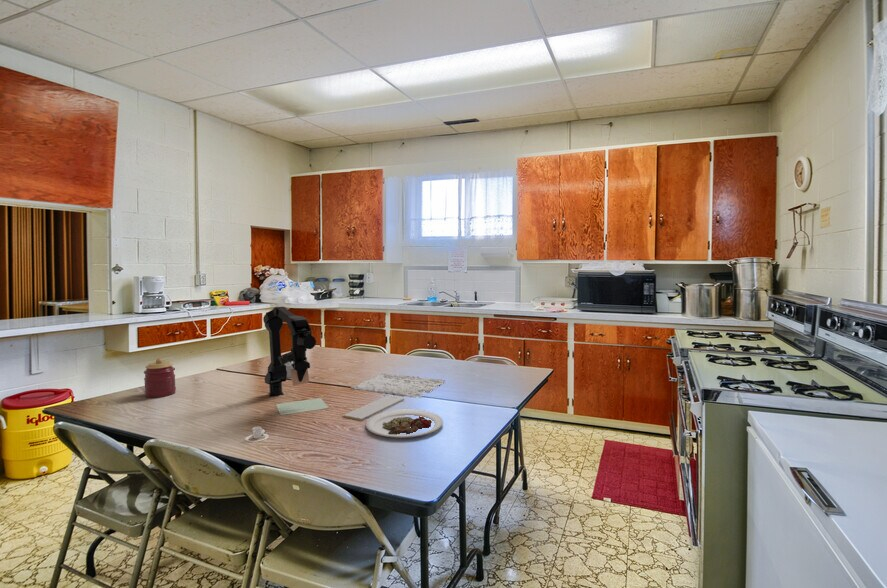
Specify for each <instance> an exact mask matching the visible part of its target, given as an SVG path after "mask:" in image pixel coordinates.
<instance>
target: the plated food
mask: <svg viewBox="0 0 887 588" xmlns="http://www.w3.org/2000/svg"><path fill="white" fill-rule="evenodd" d="M405 415H414V416H419V418H416V419H412V418H411V417H404V416H405ZM400 416H401V417H400ZM402 416H403V417H402ZM420 416H422V417H420ZM424 417H426V418H429V419H431V420H432V421H434V423H435V425H434V427H433V428H432V429H431V430H429V431H427V432H424V433H420V434H415V435H407V434H410V433H413V432H416V431H417V430H418V429H422V428H429V427H431V423H432V421H431V420H427V419H425V418H424ZM443 424H444V420H443V419H442V417H441V416H440V415H438V414H436V413H434V412H431V411H426V410H421V409H410V408H409V409H408V408H407V409H404V408H403V409H394V410H388V411H384V412H383V411H382V412H379V413H377V414H375V415H373V416H371V417H369V418H367V420H366V422H365V428H366V429H367V430H368V431H369V432H370V433H373V434H374V435H375V434H376V435H378V436H381V437H387V438H402V439H403V438H414V437H419V436H421V437H422V436H425V435H429V434H431V433H434V432H436V431H438V430H439V429H440V428H442V427H443ZM410 427H411V428H410ZM400 433H406V435H407V436H403V435H400ZM397 434H398V435H397Z"/></svg>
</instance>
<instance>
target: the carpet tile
mask: <svg viewBox="0 0 887 588" xmlns="http://www.w3.org/2000/svg"><path fill="white" fill-rule="evenodd" d="M445 381H446V379H445V380H444V379H442V378H440V379H439V378H429V377H424V378H423V377H419V376H413V375H412V376H410V375H403V374H402V375H395V374H394V375H393V374H388V373H381V374H378V375H375V376H374V377H372V378H371V379H370V378H369V379H368V380H364V381H363V382H361V383H358V384H356V385H352V386H350V389H351V390H355V391H364V392H370V393H377V394H378V393H379V394H384V395H393V394H395V395H394V396H400V397H402V396H403V397H408V398H409V397H410V398H416V397H421V398H422V396H418V395H423V394H422V393H428V392H429V391H431V390H432V391H434V390H435V389H434V388H436V387H437V388H439V387H440V386H442V385H443V384H442V383H444V382H445ZM445 383H446V382H445ZM445 383H444V384H445ZM435 384H437V385H435ZM441 384H442V385H441ZM439 385H440V386H439ZM438 386H439V387H438ZM432 388H433V389H434V390H433V389H432ZM437 388H436V389H437ZM424 391H425V392H424ZM432 391H431V392H432ZM419 393H420V394H419ZM429 393H430V392H429ZM429 393H428V394H429Z"/></svg>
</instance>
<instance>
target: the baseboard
mask: <svg viewBox="0 0 887 588" xmlns="http://www.w3.org/2000/svg"><path fill="white" fill-rule="evenodd" d="M403 400H404V401H405V398H404V396H401V397H399V396H396V395H395V394H392V395H384V396H383V397H381V398H379V399H376V400H374V401H372V402H370V403H368V404H366V405H363V406H361V407H359V408H357V409H354V410H352V411H349V412H348V413H345V414H342V416H341V417H342V418H346V419H350V420H351V419H352V420H356V421H359V422H362V421H364V420H366V419H367V420H368V419H369V418H371V417H372V416H375V415H377V414H380V413H382V412H383V411H385V410H387V409H389V408H391V407H394V406H395V405H397V404H399V403H401V402H404V401H403Z"/></svg>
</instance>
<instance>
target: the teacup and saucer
mask: <svg viewBox="0 0 887 588" xmlns="http://www.w3.org/2000/svg"><path fill="white" fill-rule="evenodd" d="M251 430H252V434H250V435H248V436H246V437H245V438H244V439H245V441H246V442H250V443H258V442H262V441H264V440H267V439H268V438H269V437H270V436H269V434H268V433H266V430H265V429H263V428H262V426H254V427H252V428H251ZM262 436H264V437H263V438H262V439H261V437H262ZM251 437H253V439H254V440H250V438H251ZM257 439H259V440H257Z"/></svg>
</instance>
